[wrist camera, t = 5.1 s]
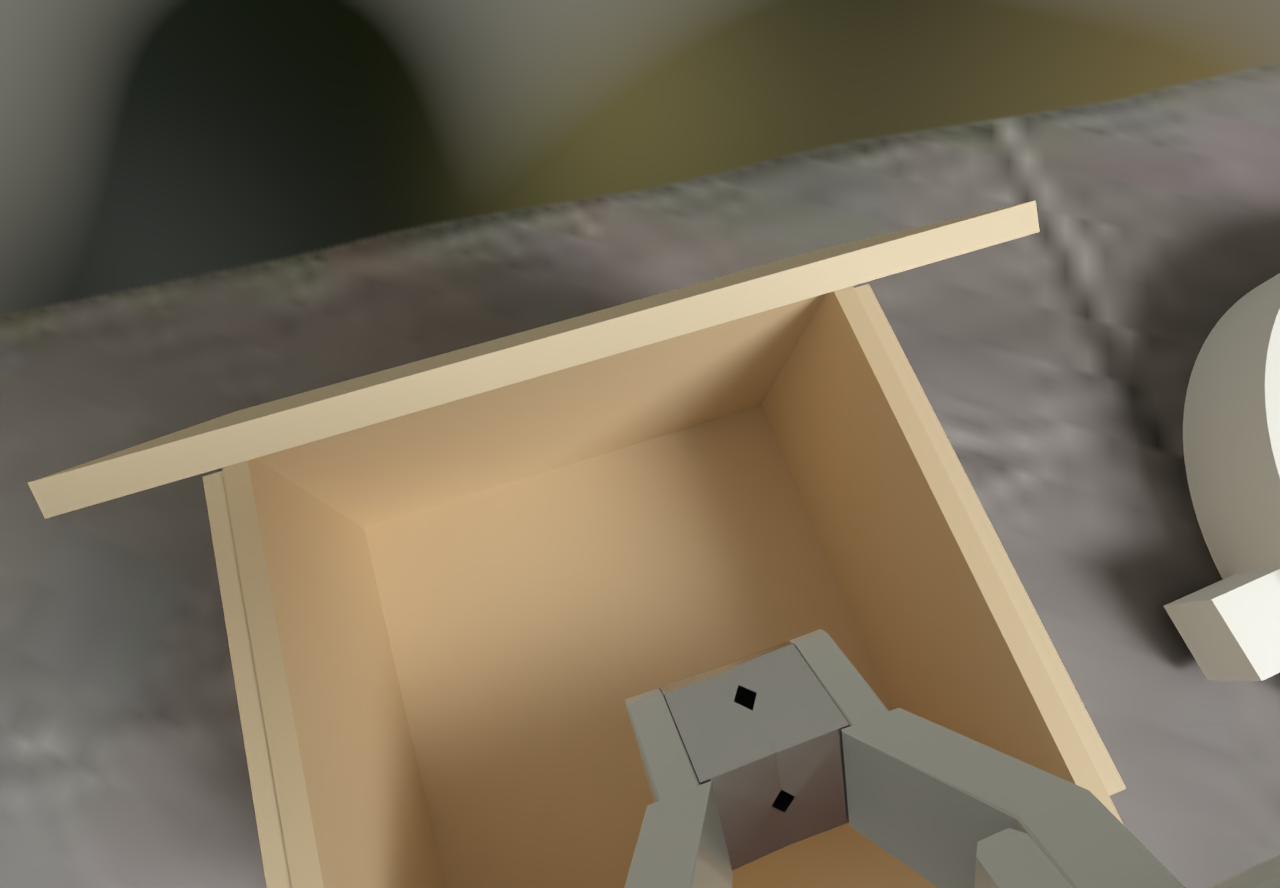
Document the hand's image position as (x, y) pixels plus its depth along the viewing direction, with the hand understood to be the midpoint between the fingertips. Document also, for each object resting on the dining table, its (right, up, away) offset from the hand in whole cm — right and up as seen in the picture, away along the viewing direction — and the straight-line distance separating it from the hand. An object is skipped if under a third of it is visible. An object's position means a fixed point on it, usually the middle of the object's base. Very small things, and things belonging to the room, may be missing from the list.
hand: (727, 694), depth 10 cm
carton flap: (-4, +7, +11) cm, 14 cm away
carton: (-2, -5, +19) cm, 20 cm away
